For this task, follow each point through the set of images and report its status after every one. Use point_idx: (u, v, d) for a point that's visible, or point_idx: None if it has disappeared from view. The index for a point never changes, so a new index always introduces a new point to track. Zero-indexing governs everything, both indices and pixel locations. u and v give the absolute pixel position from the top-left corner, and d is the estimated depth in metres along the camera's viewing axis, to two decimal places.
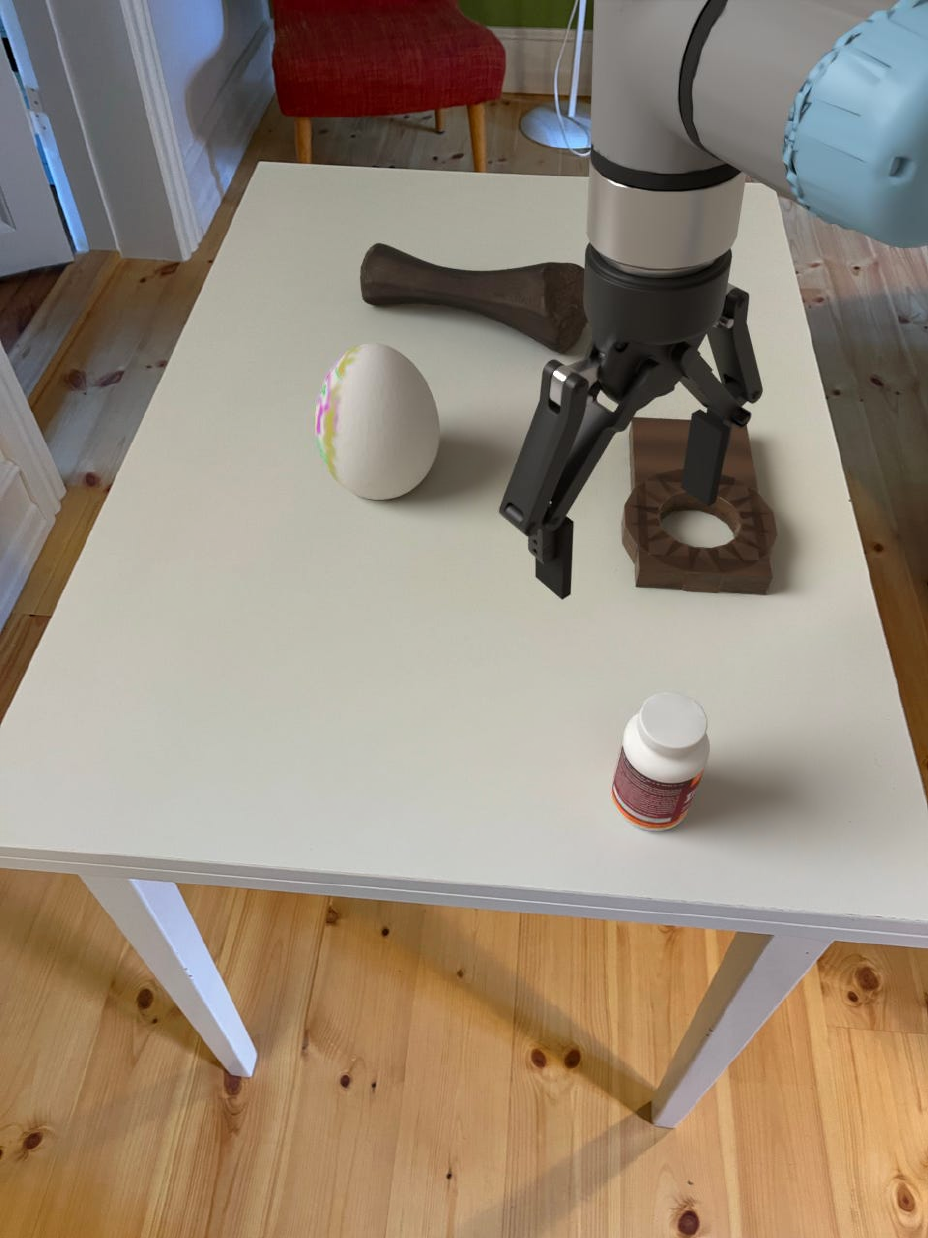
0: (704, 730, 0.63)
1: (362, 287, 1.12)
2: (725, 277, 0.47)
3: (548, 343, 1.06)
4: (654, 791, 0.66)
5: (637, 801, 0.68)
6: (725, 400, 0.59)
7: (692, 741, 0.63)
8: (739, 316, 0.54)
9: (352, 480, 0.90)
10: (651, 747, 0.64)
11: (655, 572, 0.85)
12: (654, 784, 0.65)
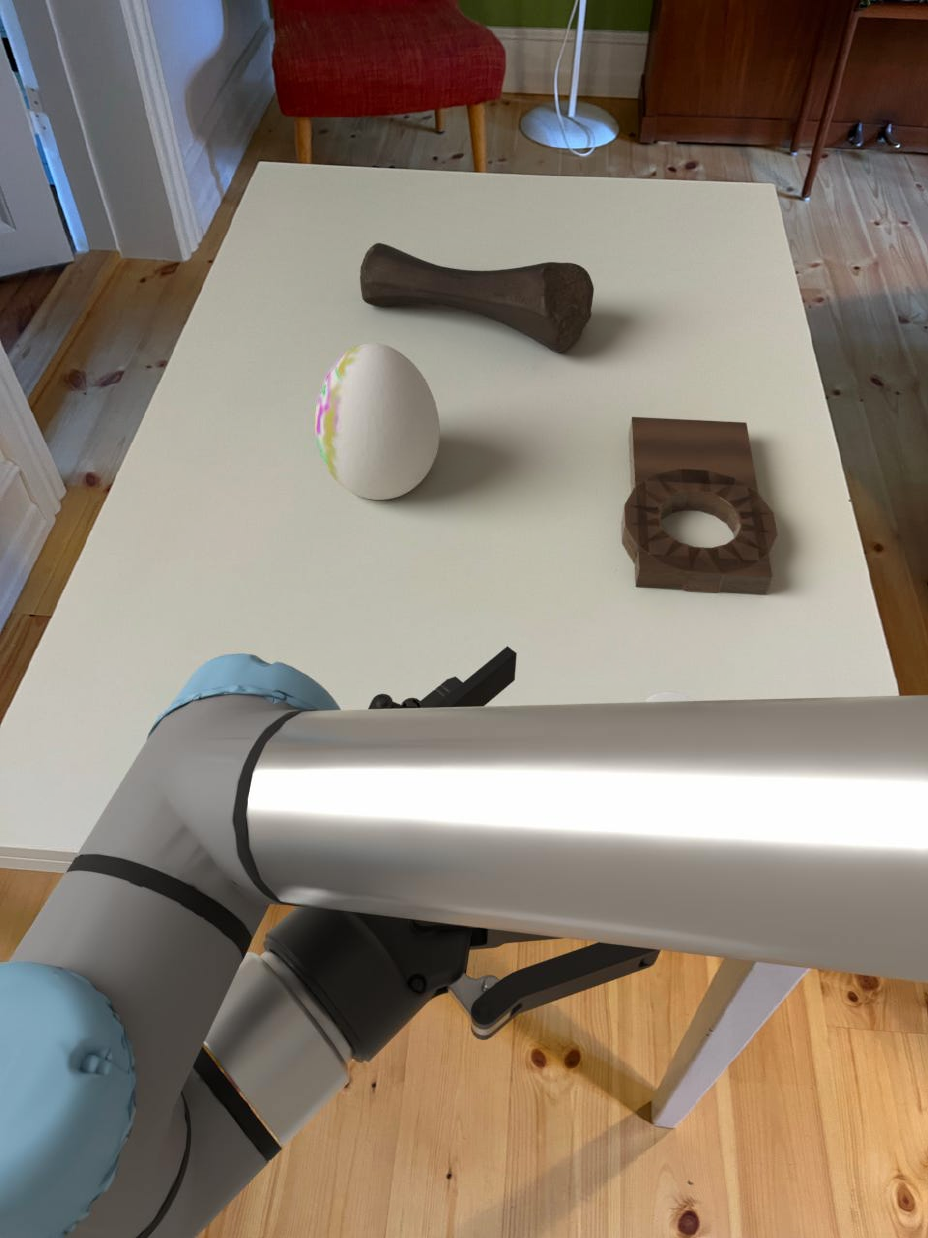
0: None
1: (362, 287, 1.12)
2: (295, 942, 0.41)
3: (548, 343, 1.06)
4: None
5: None
6: None
7: None
8: None
9: (352, 480, 0.90)
10: None
11: (655, 572, 0.85)
12: None
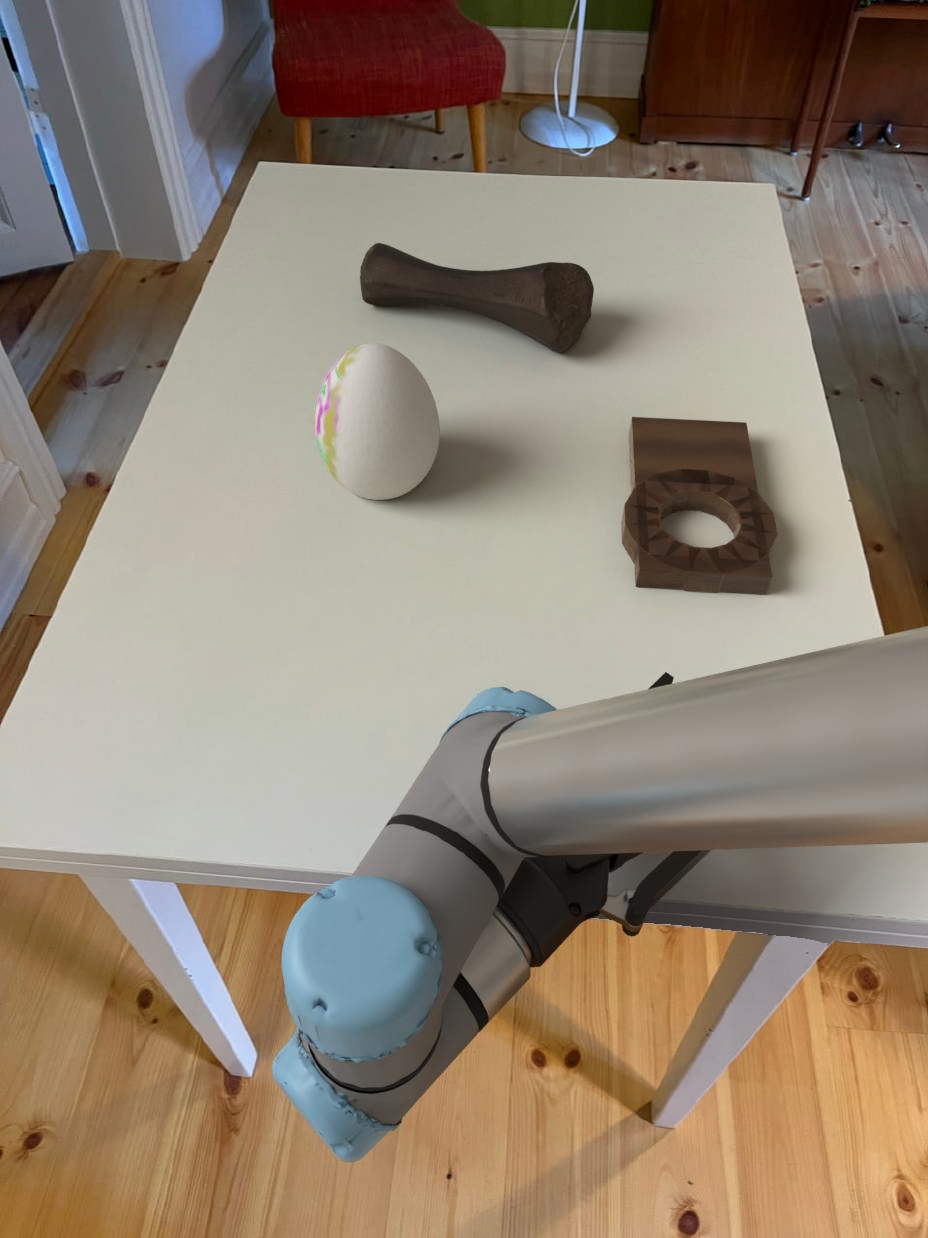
0: None
1: (362, 287, 1.12)
2: None
3: (548, 343, 1.06)
4: None
5: None
6: None
7: None
8: None
9: (352, 480, 0.90)
10: None
11: (655, 572, 0.85)
12: None
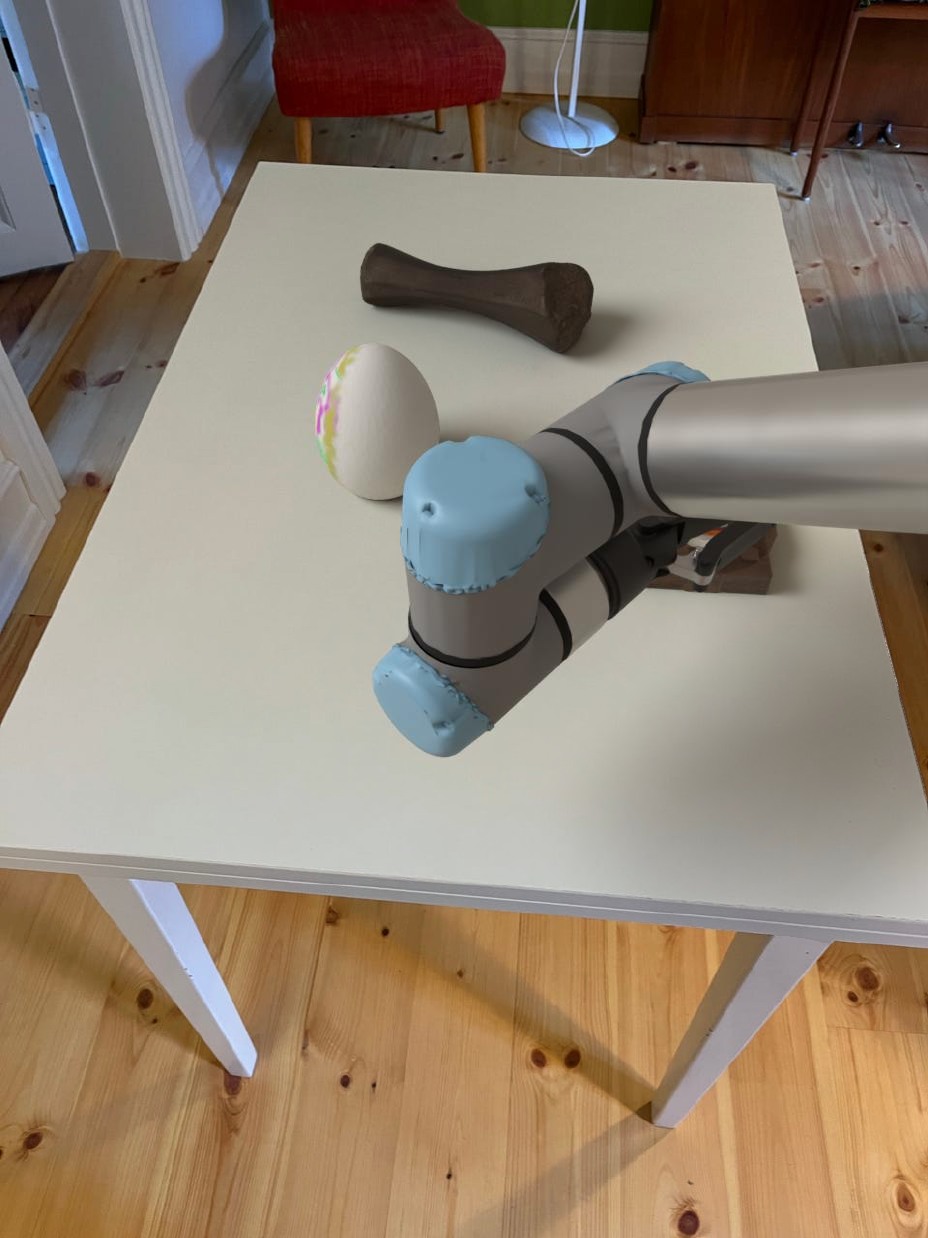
0: None
1: (362, 287, 1.12)
2: None
3: (548, 343, 1.06)
4: None
5: None
6: None
7: None
8: None
9: (352, 480, 0.90)
10: None
11: None
12: None
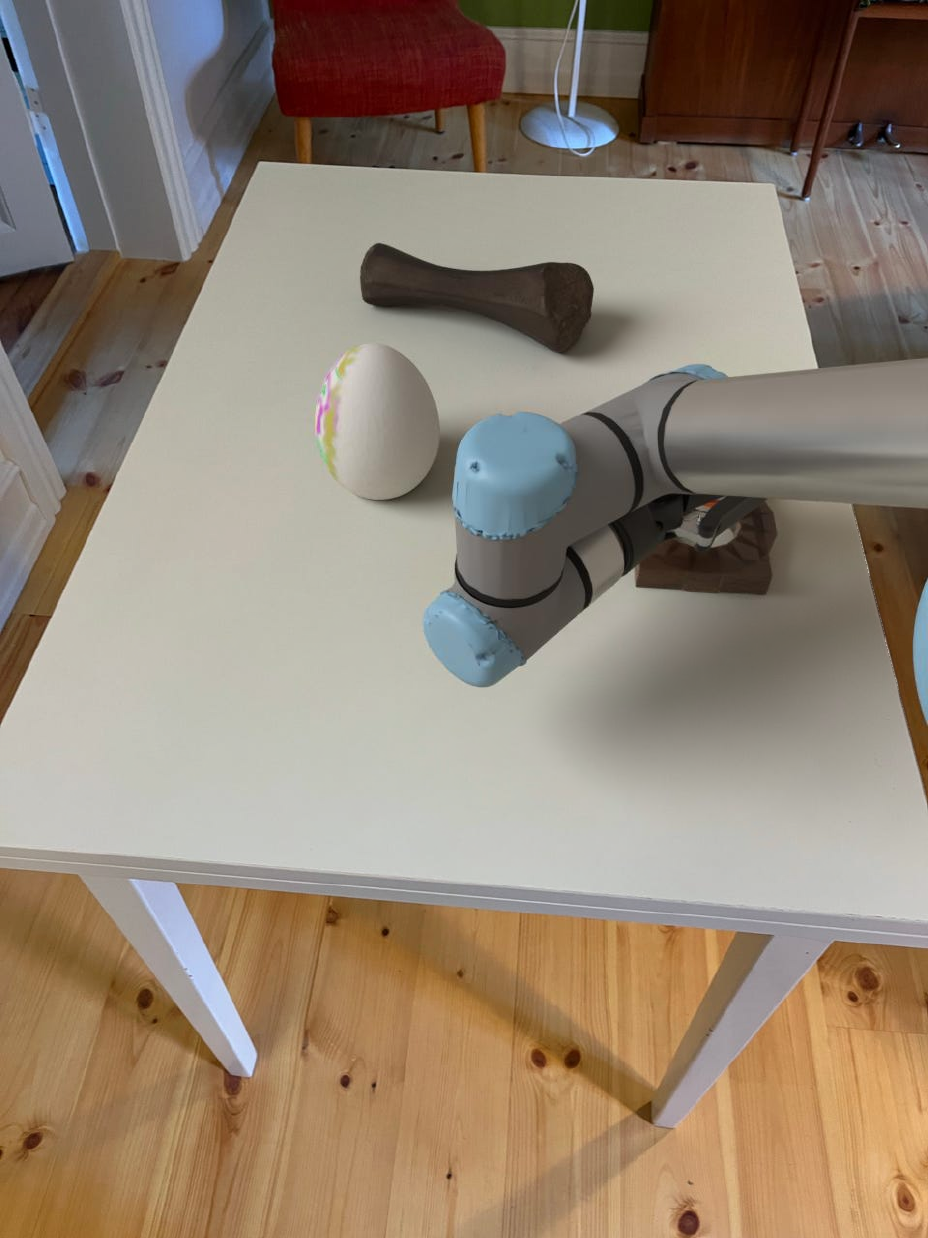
0: None
1: (362, 287, 1.12)
2: None
3: (548, 343, 1.06)
4: None
5: None
6: None
7: None
8: None
9: (352, 480, 0.90)
10: None
11: (655, 572, 0.85)
12: None
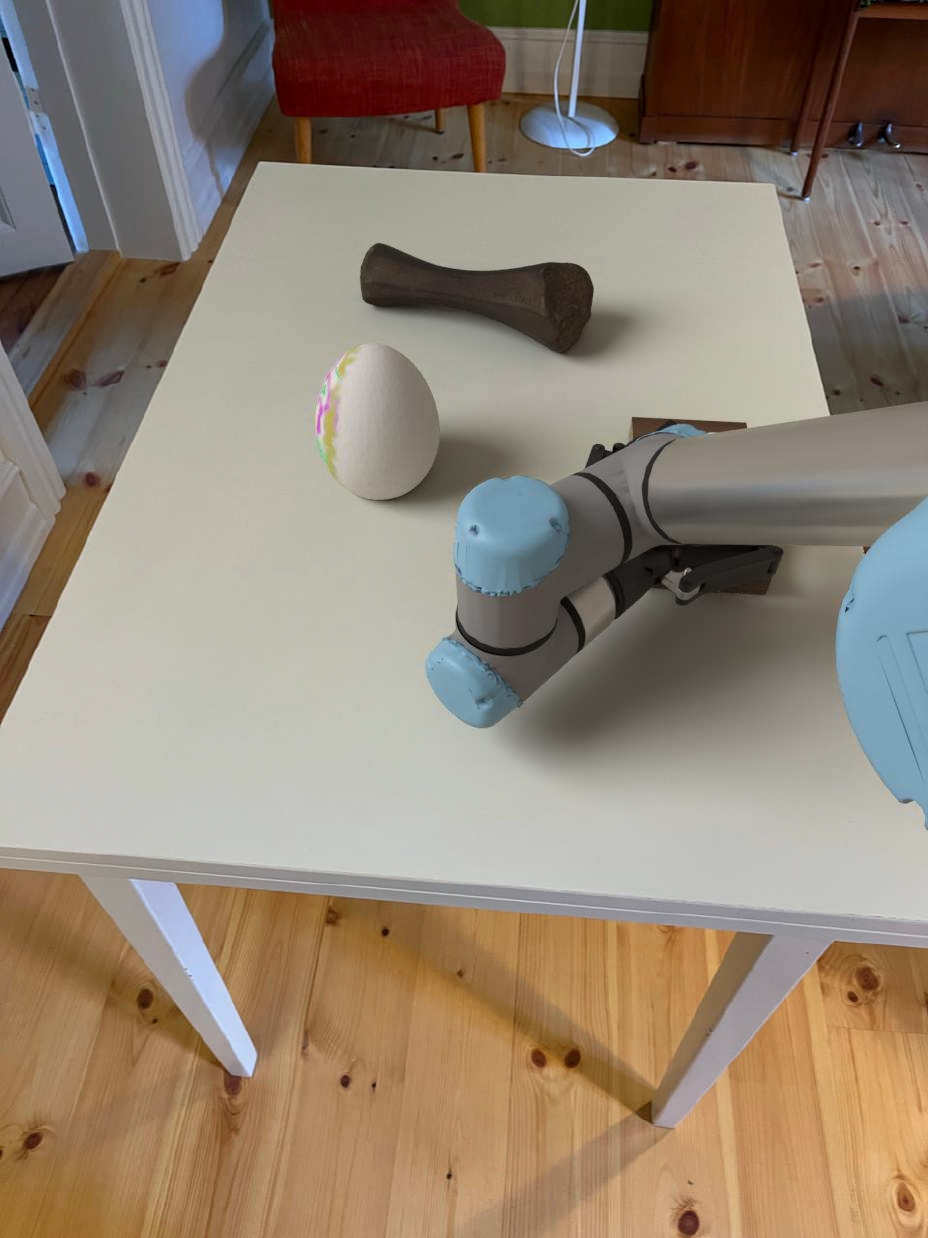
0: None
1: (362, 287, 1.12)
2: None
3: (548, 343, 1.06)
4: None
5: None
6: None
7: None
8: None
9: (352, 480, 0.90)
10: None
11: None
12: None
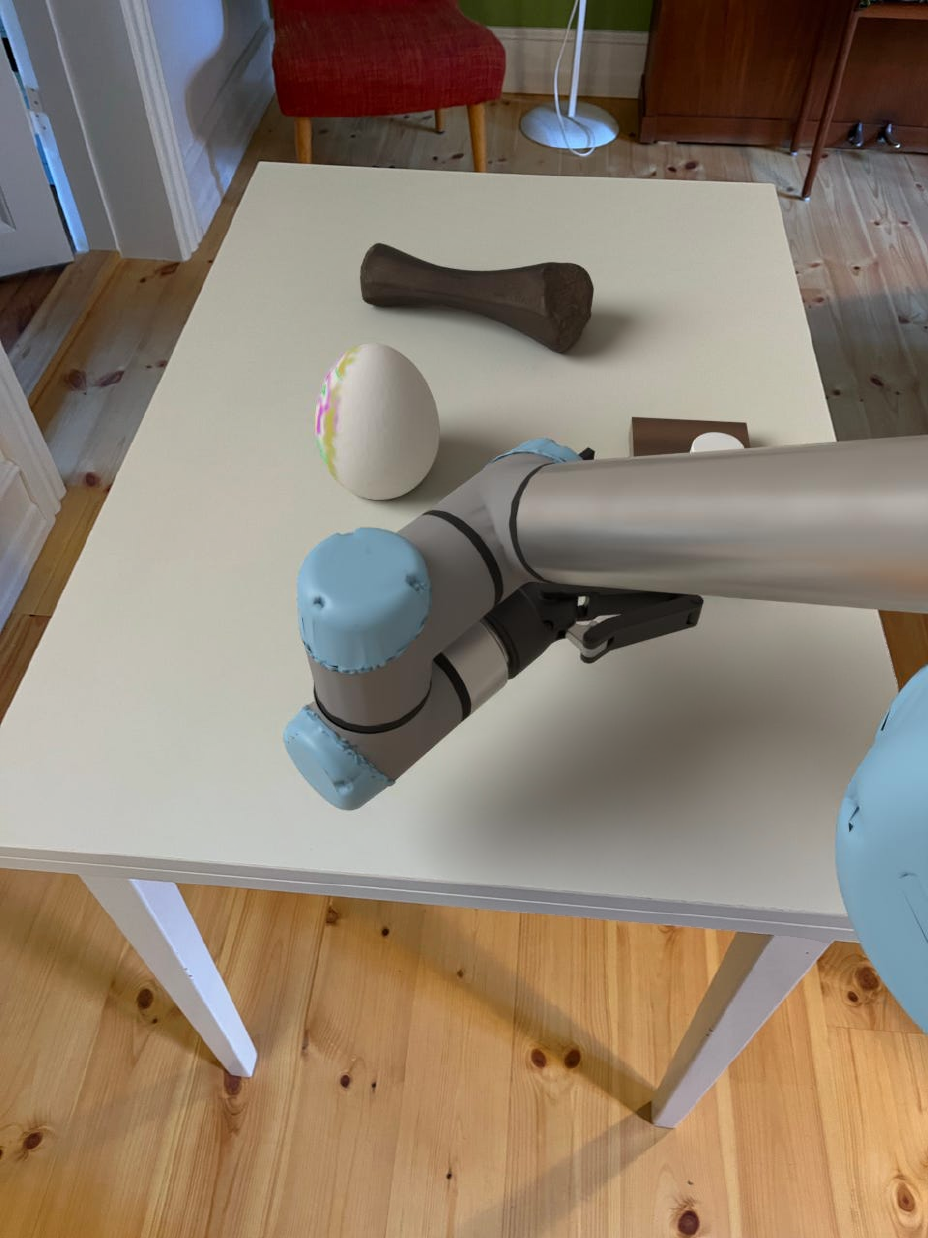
0: None
1: (362, 287, 1.12)
2: None
3: (548, 343, 1.06)
4: None
5: None
6: None
7: None
8: None
9: (352, 480, 0.90)
10: None
11: None
12: None
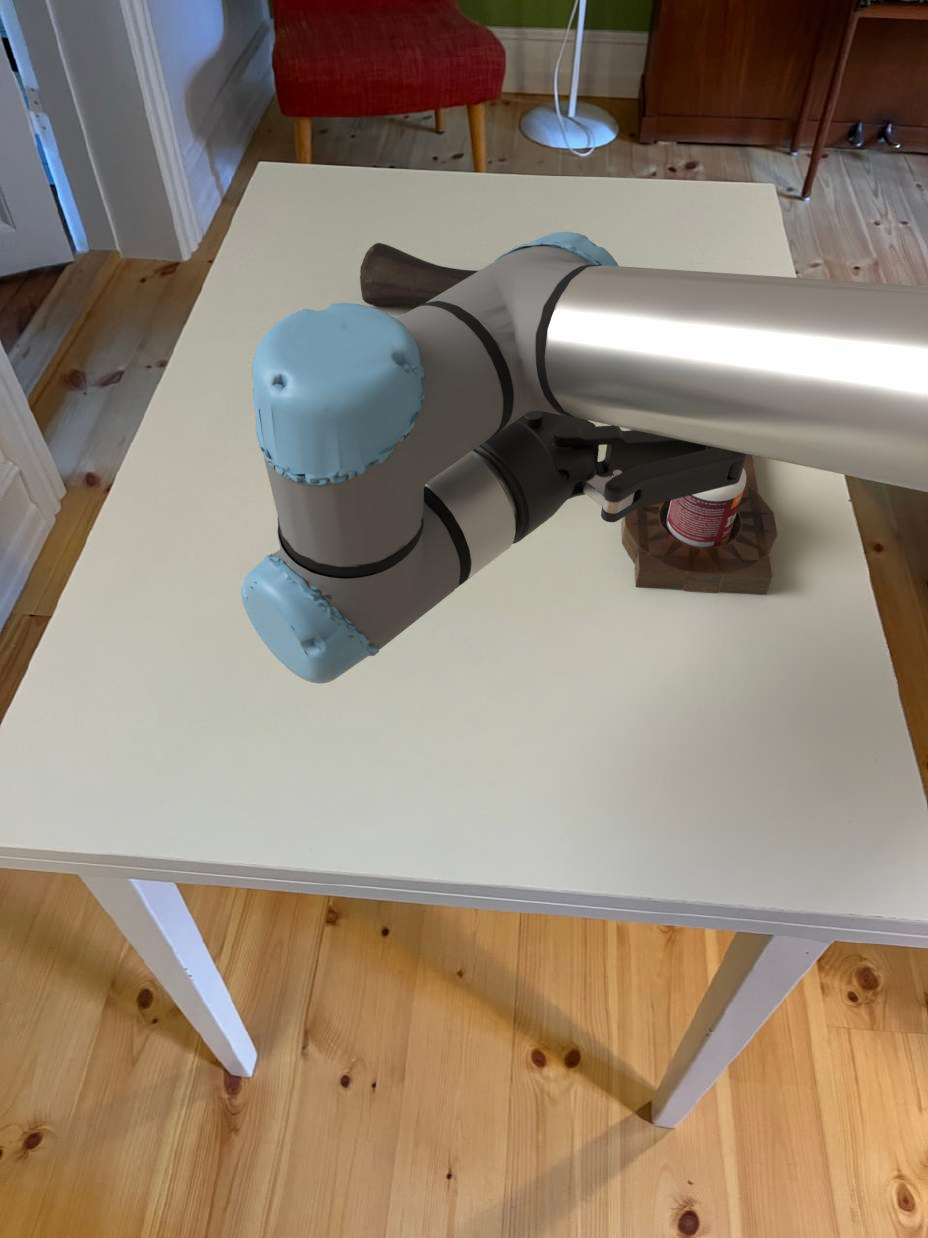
0: None
1: (362, 287, 1.12)
2: None
3: None
4: (702, 511, 0.84)
5: (688, 525, 0.86)
6: None
7: None
8: None
9: None
10: None
11: (655, 572, 0.85)
12: (702, 503, 0.83)
